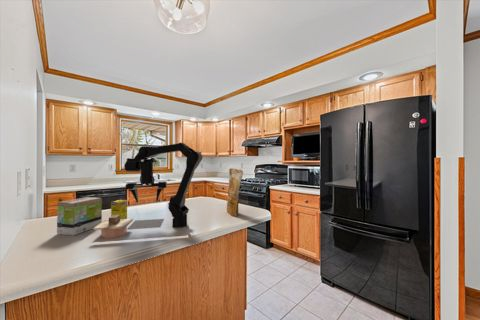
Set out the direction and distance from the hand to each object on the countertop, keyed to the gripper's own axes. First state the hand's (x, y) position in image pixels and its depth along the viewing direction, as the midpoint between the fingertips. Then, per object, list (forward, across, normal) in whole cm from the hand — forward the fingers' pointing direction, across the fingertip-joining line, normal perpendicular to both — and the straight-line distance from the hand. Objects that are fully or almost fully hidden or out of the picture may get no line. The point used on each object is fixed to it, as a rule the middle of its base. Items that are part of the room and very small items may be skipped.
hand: (147, 202), depth 108 cm
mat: (+12, +1, -2) cm, 12 cm away
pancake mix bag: (+13, -48, -15) cm, 52 cm away
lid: (+7, +12, +11) cm, 18 cm away
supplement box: (+12, +17, -15) cm, 26 cm away
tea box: (+12, +31, -3) cm, 33 cm away
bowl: (+12, +12, +11) cm, 20 cm away
